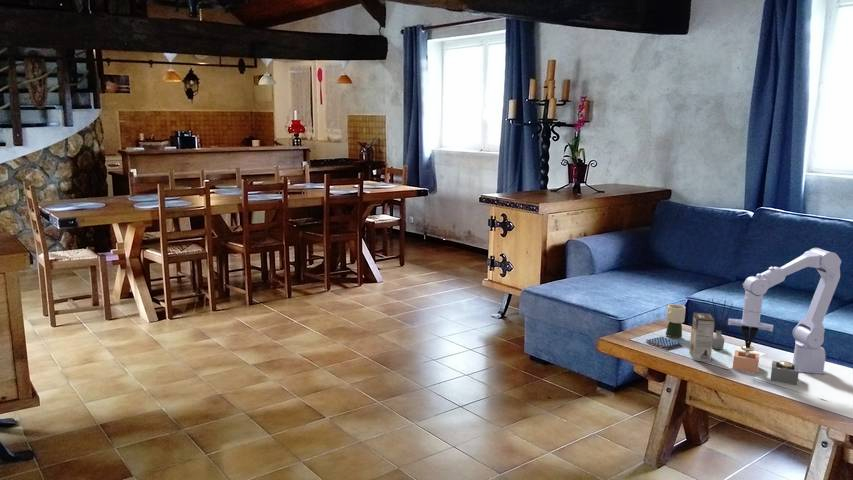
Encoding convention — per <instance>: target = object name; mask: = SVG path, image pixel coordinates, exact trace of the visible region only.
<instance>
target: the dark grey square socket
mask: <svg viewBox="0 0 853 480" xmlns="http://www.w3.org/2000/svg"><path fill="white" fill-rule="evenodd" d="M799 373H800V372H799V368H798V365H795V364H792V367H791V368H787V369H784V368H783V367H782V366H780V365H779V361H776V360H772V361H771V369H770V382H775V383H780V384H786V385H792V386H798V382H799V381H798V380H799V375H800V374H799Z"/></svg>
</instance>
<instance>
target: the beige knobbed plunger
mask: <svg viewBox="0 0 853 480" xmlns="http://www.w3.org/2000/svg"><path fill="white" fill-rule="evenodd" d="M778 362H779V365H780V366H782V367H783V368H784V369H787V368H791V367H792V363H793V362H790V361H787V360H780V361H778Z"/></svg>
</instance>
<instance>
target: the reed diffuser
mask: <svg viewBox="0 0 853 480" xmlns="http://www.w3.org/2000/svg"><path fill="white" fill-rule="evenodd" d="M711 301H712V306H713V313H714V320H715V323H716V324H715V325H716V329H715V334H713V341H712V348H714V349H717V350H718V349H720V350H723V349H724V346H725V345H724V344H725V337H724V336H722V330H723V327H724V325H725V323H726V320H727V319H728V316H729V313H730V312H731V310H732V307H733V303H731V305H730V308H729V310H728V312H727V315H726V317H725V319H724V322H723V317H724V314H725V313H724V311H725V308H726V301H727V300H724V304H723V308H722V309H723V310H722V314H721V321H720V325H719V323H718V321H719V320H718V313H717V305H716V302H714V299H713V298H711ZM722 322H723V323H722Z"/></svg>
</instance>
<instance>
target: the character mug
mask: <svg viewBox="0 0 853 480" xmlns="http://www.w3.org/2000/svg"><path fill="white" fill-rule="evenodd" d="M686 308H687V307H686V306H685V305H682V304H673V303H671V304H670V303H669V304H668V305H667V307H666V317H665V318H666V321H667V322H668V323H667V327H666V331H665V336H667V337H670V338H680V339H681V338H682V337H683V326H682V324H684V323H685V319H686Z"/></svg>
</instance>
